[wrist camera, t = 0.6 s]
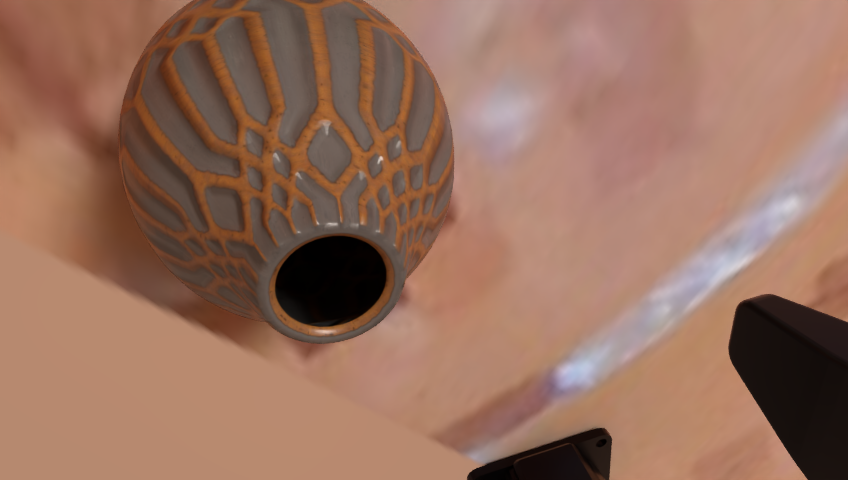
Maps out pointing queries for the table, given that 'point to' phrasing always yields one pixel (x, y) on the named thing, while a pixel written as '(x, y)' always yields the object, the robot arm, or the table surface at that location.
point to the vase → (287, 160)
